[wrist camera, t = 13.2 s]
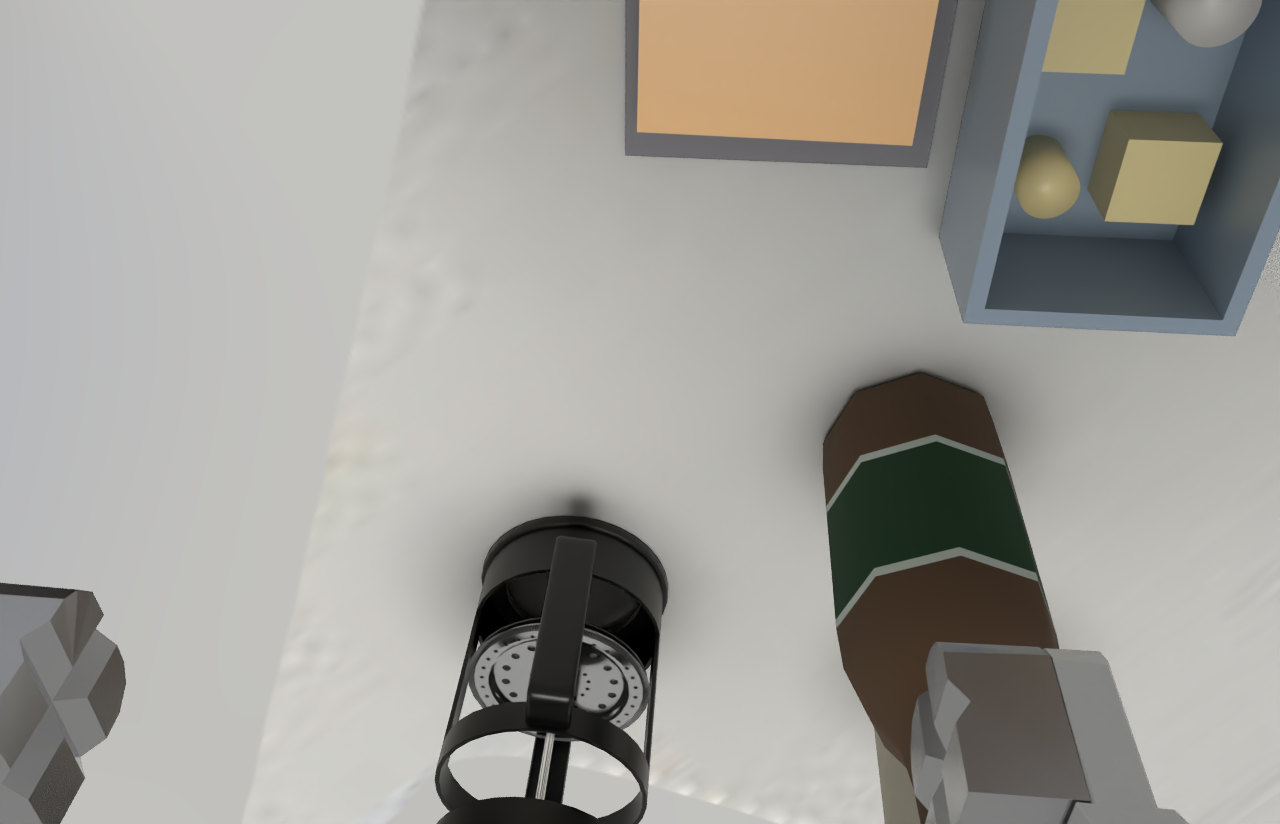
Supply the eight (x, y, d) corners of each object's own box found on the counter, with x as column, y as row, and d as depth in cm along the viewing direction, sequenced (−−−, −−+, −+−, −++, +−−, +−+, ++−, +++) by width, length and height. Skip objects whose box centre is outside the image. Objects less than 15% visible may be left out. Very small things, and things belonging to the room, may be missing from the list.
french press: (655, 663, 59) (615, 1155, 41) (481, 640, 59) (363, 1123, 41) (684, 503, 52) (651, 1016, 33) (485, 477, 51) (344, 977, 33)
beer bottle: (986, 506, 50) (1131, 1079, 31) (815, 502, 51) (855, 1060, 32) (1016, 368, 45) (1207, 944, 27) (826, 365, 46) (881, 926, 27)
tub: (1325, -164, 33) (1422, -117, 28) (1179, 247, 42) (1235, 336, 37) (1020, -172, 33) (1065, -127, 29) (938, 236, 42) (963, 323, 37)
